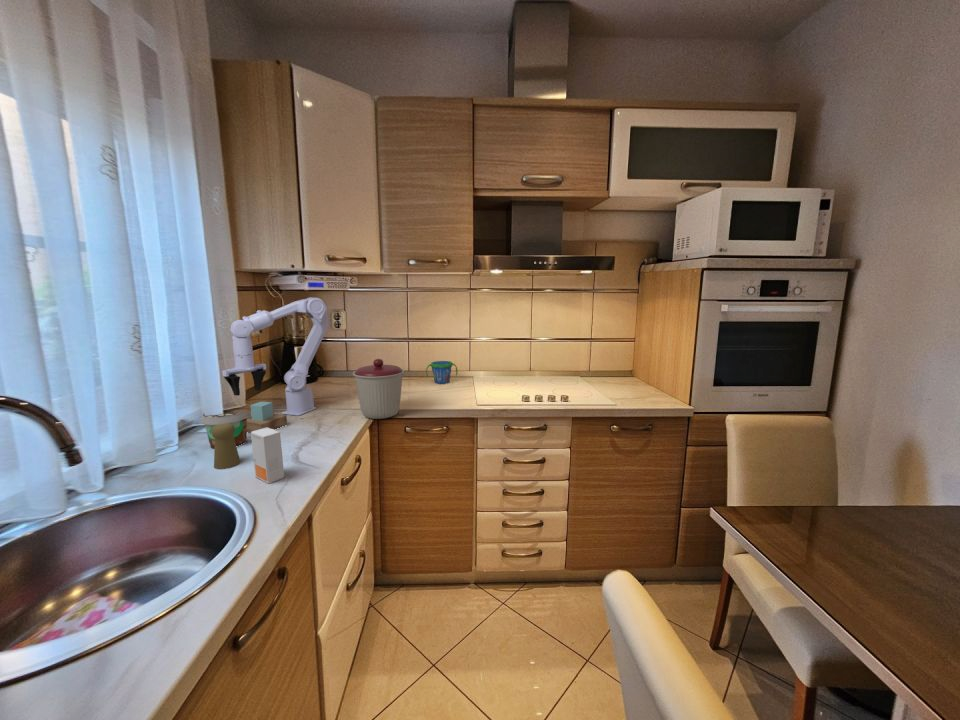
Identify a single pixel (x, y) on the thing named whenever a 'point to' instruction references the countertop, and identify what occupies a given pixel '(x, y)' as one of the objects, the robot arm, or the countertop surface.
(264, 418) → the teal block
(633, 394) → the countertop surface
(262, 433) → the skincare box
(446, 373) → the snack cup
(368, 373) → the canister
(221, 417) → the food container
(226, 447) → the cork
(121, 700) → the countertop surface
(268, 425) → the walnut block
